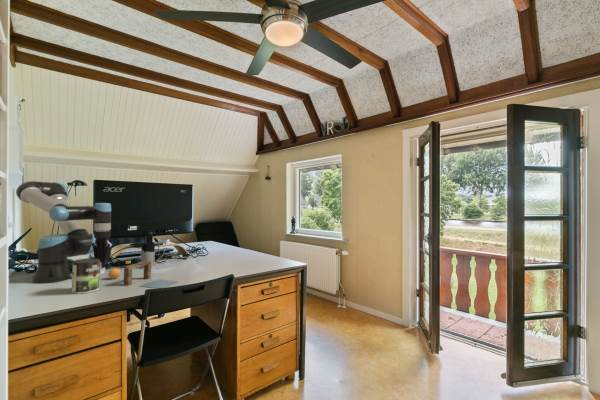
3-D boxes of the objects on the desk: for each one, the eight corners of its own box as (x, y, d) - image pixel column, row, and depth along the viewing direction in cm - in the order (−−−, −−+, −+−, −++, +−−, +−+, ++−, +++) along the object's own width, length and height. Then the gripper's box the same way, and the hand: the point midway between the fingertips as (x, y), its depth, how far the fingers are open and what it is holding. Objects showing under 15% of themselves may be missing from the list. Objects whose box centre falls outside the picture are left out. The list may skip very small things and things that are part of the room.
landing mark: (139, 286, 141) (139, 285, 141) (158, 279, 154) (158, 279, 154) (160, 288, 137) (160, 288, 137) (178, 281, 150) (178, 281, 150)
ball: (105, 279, 152) (105, 269, 152) (114, 276, 157) (115, 267, 157) (113, 280, 150) (113, 270, 150) (122, 277, 156) (122, 267, 156)
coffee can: (104, 288, 137) (105, 259, 137) (84, 294, 127) (85, 263, 127) (86, 286, 139) (87, 257, 139) (65, 292, 129) (66, 261, 129)
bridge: (123, 284, 143) (123, 266, 143) (146, 277, 157) (146, 261, 157) (128, 285, 142) (128, 267, 142) (150, 278, 156) (151, 261, 156)
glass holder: (140, 266, 184) (141, 243, 185) (164, 264, 190) (165, 242, 191) (139, 269, 176) (139, 245, 177) (164, 267, 182) (165, 244, 183)
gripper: (86, 230, 155) (85, 274, 154) (105, 231, 151) (104, 276, 151) (100, 229, 162) (99, 271, 162) (117, 230, 158) (116, 272, 158)
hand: (101, 273), depth 156 cm, fingers closed
